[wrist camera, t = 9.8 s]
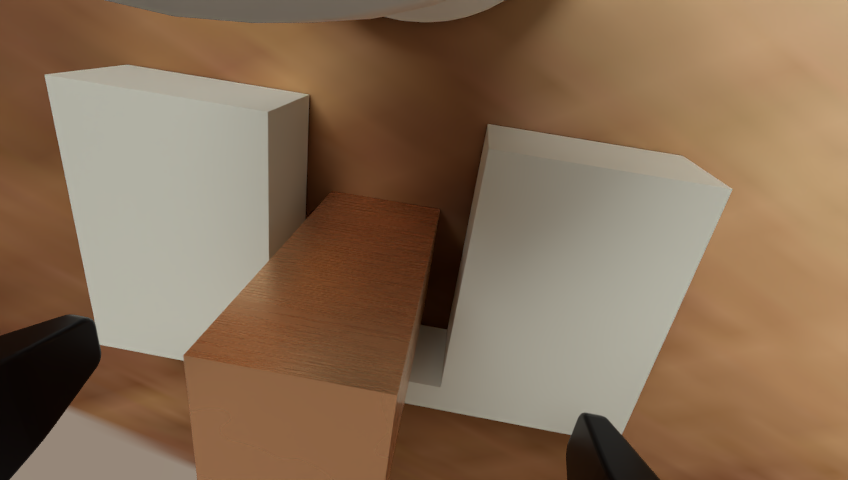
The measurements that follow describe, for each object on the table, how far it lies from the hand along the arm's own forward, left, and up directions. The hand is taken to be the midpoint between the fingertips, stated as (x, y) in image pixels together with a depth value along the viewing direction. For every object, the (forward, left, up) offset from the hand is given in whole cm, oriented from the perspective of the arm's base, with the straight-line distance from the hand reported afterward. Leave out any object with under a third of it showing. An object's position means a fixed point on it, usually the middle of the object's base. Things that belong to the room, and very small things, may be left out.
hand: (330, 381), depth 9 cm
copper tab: (0, 0, -5) cm, 5 cm away
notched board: (0, 0, -5) cm, 5 cm away
